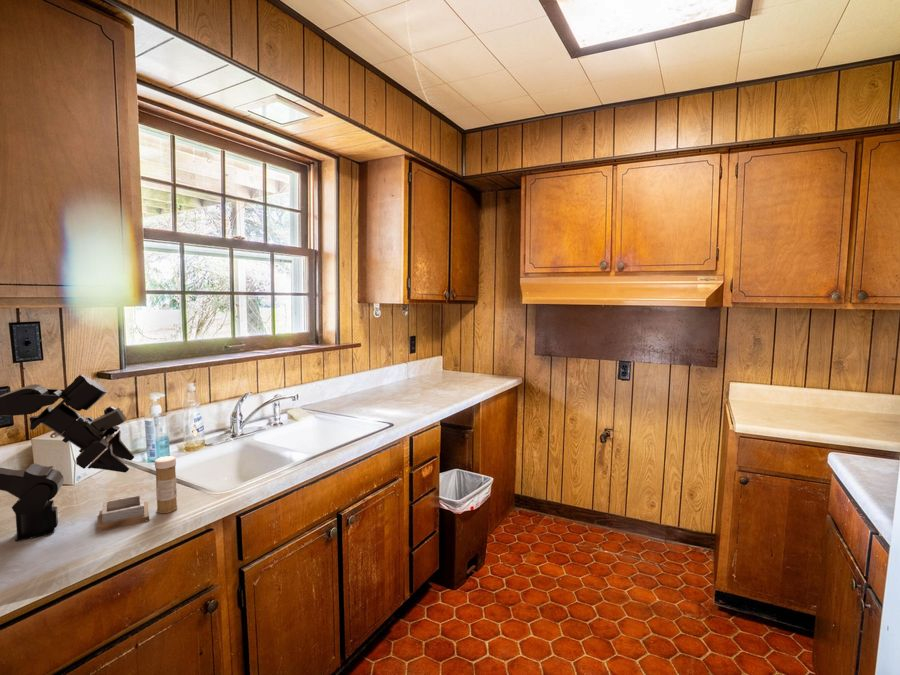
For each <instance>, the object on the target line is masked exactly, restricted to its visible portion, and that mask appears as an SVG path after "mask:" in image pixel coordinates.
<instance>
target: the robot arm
mask: <svg viewBox="0 0 900 675" xmlns="http://www.w3.org/2000/svg"><path fill="white" fill-rule="evenodd" d="M106 394H108V389H107V388H106V387H105V386H103V384H101V383H100V382H99V381H98V380H94V379H93V378H90V377H88V376H85V375H84V374H81V373H80V374H79V375H78V376H77V377H76V378H75V379H74V380H73V381H72V382H71V383H70V384H69V385H68V386H67V387H65V388H64V389H58V388H57V389H56V388H55V389H54V388H46V387H45V386H43V385H41V384H29V385H26V386H23V387H20V388H16V389H14V390H11V391H9V392H6V393H4V394H1V395H0V417H1V416H2V417H15V416H24V415H25V416H27V415H32V416H30V417H29V424H30V425H29V430H31V431H34V430H35V429H37V427H39V426H40V425H43V426H45V427H47V428H48V429H49V430H51V431H52V432H54V433H56V434H57V435H58V436H60V437H62V438H63V439H62V442H64V443H65V444H67V443H68V442H70V443H71V444H72V445H74V446H75V447H77V448H79V450H78V452H79V454H78V455H77V457H76V458H75V462H76V465H77V466H79V467H80V468H82V469H86V468H87V469H97V470H104V471H105V470H106V471H112V472H119V473H127V472H128V471H129V470H130V468H129V466H128V465H126V464H125V463H124V462H123V461H122V460H121V459H123V460H125V461H133V460H134V459H135V456H134V454H133V453H132V452H131V451H130V450H129V448H128V447H127V446H126V445H125V443H124V442H123V441H122V439H121V432H122V431H121V429H120V426H119V425H122V424H123V423H124V422H125V420H126V419H127V417H126V416H125V414H124V413H123V412H124V411H123V409H121V408H120V407H117V408H116V407H114V406H113V405H110V406H108V407H106V408H105V409H104V410H103V414H102V415H100V416H99V417H96V418H93V417H91V416H86V417H85V416H83V415H82V414H80V413H79V412H80V411H82V410H84V411H88V410H89V409H91V408H92V407H93V405H95V404H96V403H97V402H98V401H99V400H100V399H101V398H103V397H104V396H105V395H106ZM60 399H62V401H60V403H58V404H57V405H56V406H53V404H55V403H56V402H58V400H60ZM51 405H52V406H51ZM44 407H46V408H45V409H44V410H42V411H41V412H40V413H39V414H38V415H33V414H35V413H38V411H40V410H41V409H42V408H44ZM77 411H78V412H77ZM64 481H65V478H64V476H63V474H62V472H61V471H59V470H58V469H54V466H53V465H51V466H46V465H45V466H44V465H40V464H38V463H31V464H30V465H29V466H28V467H27V468H25V469H10V468H5V467H0V491H4V492H6V493H9V494H11V495H12V496H14V497H15V498H17V500H16V501H15V503H14V504H12V506H11V509H12V511H13V513H14V514H15V526H16V535H15V538H14V540H15V542H19V541H23V540H24V541H25V540H28V539H33V538H34V539H35V538H37V537H43V536H48V535H52V534H54V532H55V529H56V528H57V527H58V523H59V517H58V515H59V514H58V506H57V505H56V506H55V503H54V500H53V498H55V497H56V495H57V494H58V492H59V490H61V488H62V486H63V484H64Z"/></svg>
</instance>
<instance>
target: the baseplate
mask: <svg viewBox="0 0 900 675" xmlns="http://www.w3.org/2000/svg"><path fill="white" fill-rule="evenodd" d="M134 507H135V506H134ZM129 508H130V507H129ZM102 510H103V509H102ZM102 510H99V512H98V521H97V532H102V531H105V530H109V529H110V530H111V529H114V528H115V527H116V528H120V526H121V527H124V526H129V525H134V523H135V524H139V523H143V522H142V521H144V522H147V521H146V520H148V521H150V512H149V502H148V501H144V515H145V516H141V517H137V518H132V519H127V520H122V521H117V522H113V523H108V524H103V523H102ZM138 522H139V523H138ZM116 528H115V529H116Z"/></svg>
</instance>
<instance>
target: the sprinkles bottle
mask: <svg viewBox="0 0 900 675" xmlns="http://www.w3.org/2000/svg"><path fill="white" fill-rule="evenodd" d="M176 465H177V459H176V456H173V455H165V456H161V457H157V458H156V459H155V460H154V468H155V480H156V481H155V486H156V488H155V491H156V492H155V493H156V494H155V495H156V506H157V507H156V513H158V514H169V513H172V512H174V511H176V510H177V509H178V504H177V501H178V500H177V494H178V493H177V491H178V490H177V489H178V488H177V475H176V474H177V473H176Z"/></svg>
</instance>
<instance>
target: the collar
mask: <svg viewBox="0 0 900 675" xmlns="http://www.w3.org/2000/svg"><path fill="white" fill-rule="evenodd" d="M144 502H145V501H144V494H143V493H141V494H137V495H132V496H127V497H126V496H125V497H121V498H114V499H111V500H105V501H103V502H102V503H103V504H102V523H103V524H108V523H113V522H117V521H122V520H127V519H132V518H137V517H141V516H145V515H144ZM134 506H135V507H134ZM129 507H130V508H129Z"/></svg>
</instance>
